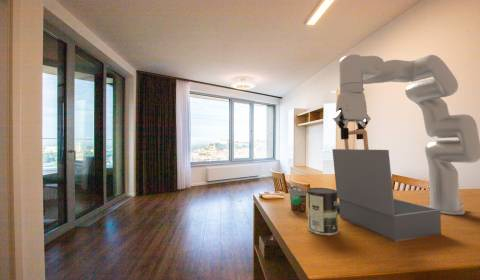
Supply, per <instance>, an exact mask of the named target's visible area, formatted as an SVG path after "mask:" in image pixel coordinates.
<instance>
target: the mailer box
mask: <svg viewBox="0 0 480 280" xmlns="http://www.w3.org/2000/svg"><path fill="white" fill-rule="evenodd" d="M338 199H339V198H338ZM393 199H394V209H395V216H390V215H387V214H384V213H381V212H378V211H375V210H372V209H369V208H366V207H363V206H360V205H357V204H354V203H351V202H348V201H345V200H342V199H339V200H338V202H339V207H340V213H339V218H341V219H342V220H345V221H347V222H350V223H352V224H354V225H357V226H359V227H361V228H362V229H365V230H367V231H369V232H371V233H374V234H376V235H378V236H381V237H383V238H385V239H388V240H390V241H392V242H394V243H398V242H404V241H409V240H410V241H411V240H414V239H420V238H427V237H431V236H438V235H439V236H440V235H442V219H441V213H440V210H438V209H434V208H430V207H426V205H422V204H417V203H413V202H409V201H405V200H400V199H396V198H393Z"/></svg>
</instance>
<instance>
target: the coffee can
mask: <svg viewBox="0 0 480 280" xmlns="http://www.w3.org/2000/svg"><path fill="white" fill-rule="evenodd" d="M306 192H307V196H306V202H307V230H308V231H309V232H311V233H313V234H317V235H321V236H336V235H338V233H339V224H338V223H339V219H338V214H339V213H337V202H338V198H337V191H336V189H334V188H327V187H326V188H325V187H309V188H307V189H306Z"/></svg>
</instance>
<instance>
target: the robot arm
mask: <svg viewBox="0 0 480 280" xmlns="http://www.w3.org/2000/svg"><path fill="white" fill-rule="evenodd" d="M338 65H339V70H338V71H339V94H337V99H336V105H335V106H336V108H335V115H334V116H333V117H332V119H333V121H334V122H335V123H336V125H337V126H338V128H339V129H340V140H344V139H348V140H349V139H350V135H349V130H350V129H349V128H348V125H349V123H350V122H352V123H354V122H355V125H356V128H355V130H358V129H366V128H367V126H368V124H369V122H370V121H371V117H370V115H368V110H367V109H368V108H367V107H368V106H367V102H366V96H365V93H364V91H365V88H364V85H369V84H370V85H371V84H383V83H389V82H390V83H411V84H410V85H408V86H407V87H405V90H404V91H405V95H406V97H407V98H408V100H410V101H412V102H413V103H415V104H416V105H417V106H419V108H420V110H421V112H422V113H421V114H422V116H423V121H424V128H425V132H426V135H427V136H428V137H429V138H433V139H440V140H434V141H431V142H428V143H427V144H426V145H425V148H424V152H425V157H426V160H427V165H428V180H429V181H428V183H429V185H428V186H429V204H426V205H425V206H426V207H430V208H434V209H438V210H440V214H442V215H443V214H444V215H451V216H453V215H454V216H463V215H465V214H466V211H465V210H464V209H462V208H461V207H462V206H465V205H466V204H465V202H464V201H462V200H461V201H460V191H459V190H460V189H459V188H460V187H459V171H458V170H457V168H456V167H455V166H454V164H453V163H467V164H470V163H471V164H472V163H477V162H479V160H480V136H479V131H478V129H479V128H478V125H477V121H476V119H474V117H472V116H471V115H470V114H465V113H464V114H452V115H450V112H449V108H448V104H447V103H446V101H445V100H444V99H443V98H447V97H451V96H453V95H454V94H455V93H457V91H458V90H459V82H458V80H457V78H456V76H455V75H454V74H453V72H452V70H451V69H450V67H448V65H447V64H446V63H445V62H444V60H443V59H441V58H440V57H439V56H438V55H435V54H429V55H426V56H423V57H420V58H418V59H415V60H402V59H401V60H400V59H391V60H386V61H384V59H383V58H381V57H380V56H378V55H360V54H349V55H345V56H343V57H342V58H340V60H339V63H338ZM429 78H430V79H429ZM413 82H414V83H413ZM355 135H356V136H355V137H356V140H363V134H355ZM446 138H447V139H449V140H447V139H446ZM451 138H453V139H451ZM454 138H458V139H454ZM441 139H444V140H441ZM445 139H446V140H445Z"/></svg>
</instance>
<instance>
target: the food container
mask: <svg viewBox="0 0 480 280" xmlns="http://www.w3.org/2000/svg"><path fill="white" fill-rule="evenodd" d="M288 194H289V199H290V208H291V209H290V210H292V212H296V213H307V190H302V189H301V188H298V185H295V186H293V185H292V186H289V189H288Z"/></svg>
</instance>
